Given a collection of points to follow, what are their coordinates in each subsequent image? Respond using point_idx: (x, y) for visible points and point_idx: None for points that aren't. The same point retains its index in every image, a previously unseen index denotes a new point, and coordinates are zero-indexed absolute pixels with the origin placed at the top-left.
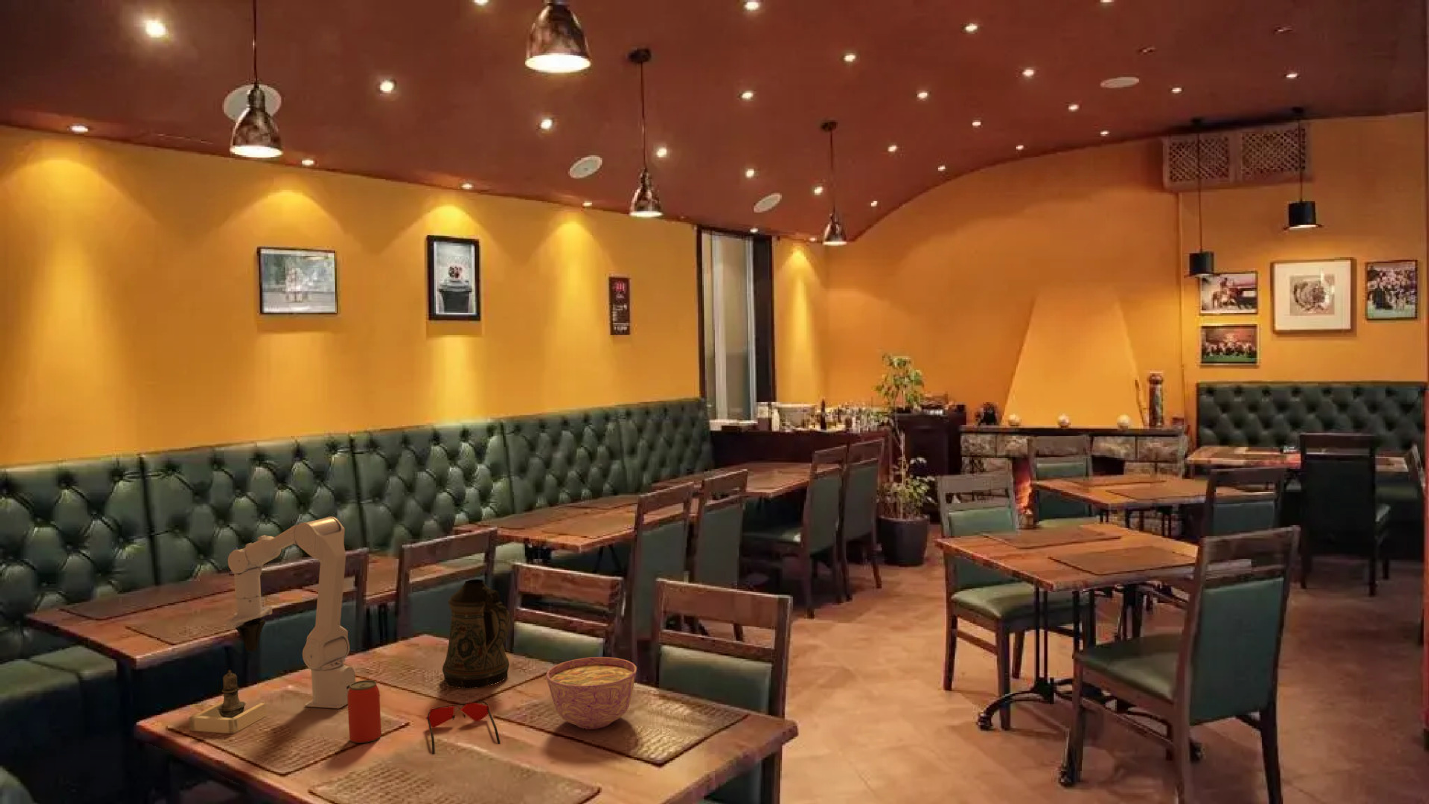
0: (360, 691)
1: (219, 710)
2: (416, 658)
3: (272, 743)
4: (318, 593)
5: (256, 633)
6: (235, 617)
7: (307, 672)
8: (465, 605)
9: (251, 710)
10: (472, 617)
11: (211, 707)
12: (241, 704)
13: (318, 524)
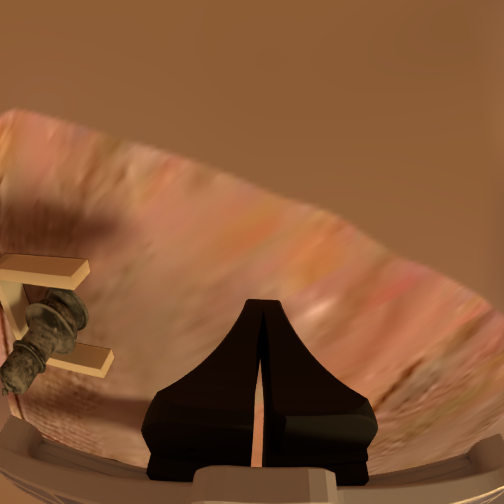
0: None
1: (25, 316)
2: (460, 416)
3: (52, 400)
4: None
5: (263, 425)
6: (121, 501)
7: (436, 284)
8: None
9: (65, 368)
10: None
11: (32, 277)
12: (59, 351)
13: None
